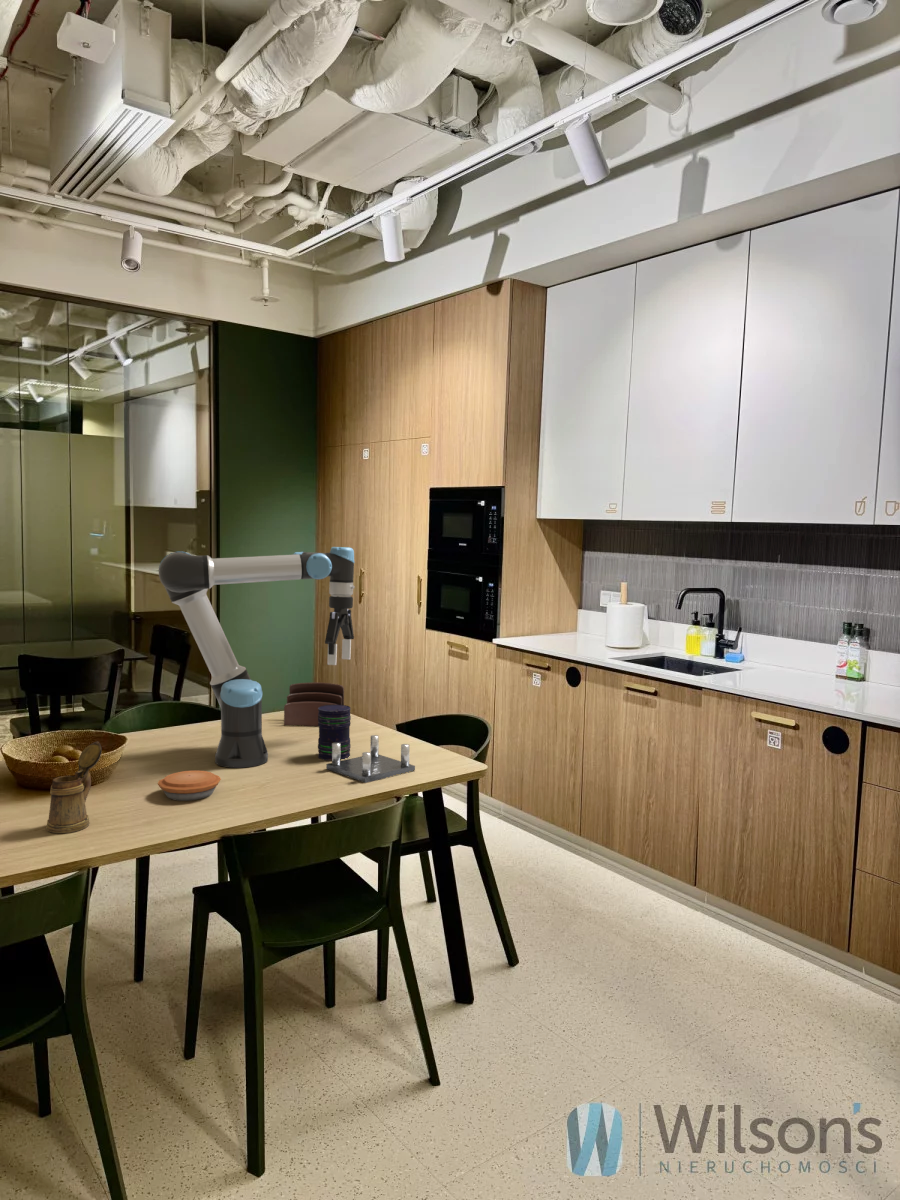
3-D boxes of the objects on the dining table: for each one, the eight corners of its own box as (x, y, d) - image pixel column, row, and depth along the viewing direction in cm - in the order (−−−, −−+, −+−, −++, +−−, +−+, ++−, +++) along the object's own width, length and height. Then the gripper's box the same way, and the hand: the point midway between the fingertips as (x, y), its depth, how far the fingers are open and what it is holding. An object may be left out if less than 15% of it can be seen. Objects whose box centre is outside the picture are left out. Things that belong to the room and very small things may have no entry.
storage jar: (313, 753, 260) (314, 705, 259) (344, 750, 265) (344, 703, 263) (323, 762, 251) (323, 712, 250) (354, 758, 256) (355, 709, 254)
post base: (365, 782, 231) (365, 755, 230) (326, 769, 244) (326, 743, 243) (414, 770, 243) (415, 745, 243) (375, 758, 256) (375, 733, 256)
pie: (233, 790, 223) (233, 771, 223) (192, 807, 209) (192, 787, 209) (187, 782, 229) (186, 764, 229) (144, 798, 215) (144, 779, 215)
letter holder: (289, 719, 308) (289, 681, 307) (344, 721, 307) (344, 682, 306) (283, 726, 298) (283, 686, 297) (339, 727, 297) (340, 687, 296)
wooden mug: (113, 818, 200) (112, 743, 198) (64, 836, 188) (62, 756, 186) (87, 812, 204) (86, 738, 202) (37, 829, 192) (35, 751, 190)
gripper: (339, 598, 257) (337, 668, 258) (364, 594, 281) (362, 657, 283) (315, 597, 258) (313, 666, 260) (342, 593, 283) (341, 656, 284)
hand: (339, 662), depth 271 cm, fingers open, 13 cm apart
